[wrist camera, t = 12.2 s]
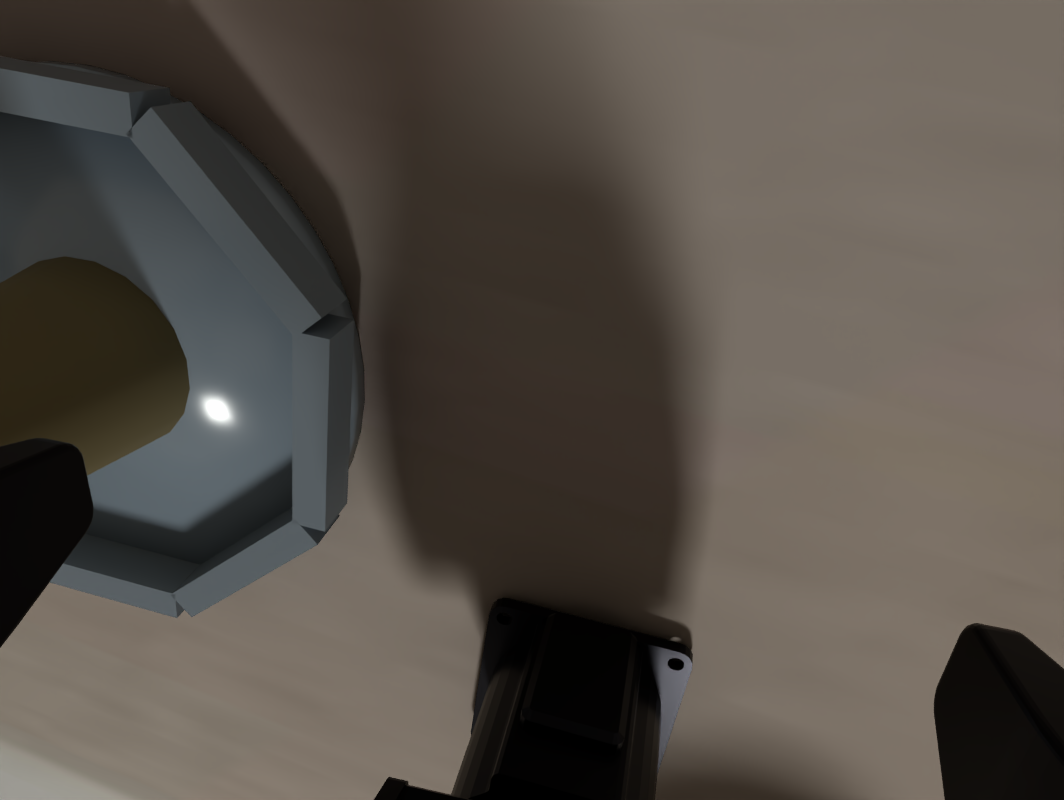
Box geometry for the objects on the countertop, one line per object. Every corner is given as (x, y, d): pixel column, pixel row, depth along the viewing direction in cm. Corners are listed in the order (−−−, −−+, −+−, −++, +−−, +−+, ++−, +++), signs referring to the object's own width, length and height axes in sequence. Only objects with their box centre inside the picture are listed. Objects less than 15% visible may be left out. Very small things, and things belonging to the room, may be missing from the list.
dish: (354, 606, 27) (321, 658, 24) (-55, 495, 29) (-119, 535, 26) (377, 119, 19) (334, 131, 17) (-175, 15, 21) (-278, 15, 19)
